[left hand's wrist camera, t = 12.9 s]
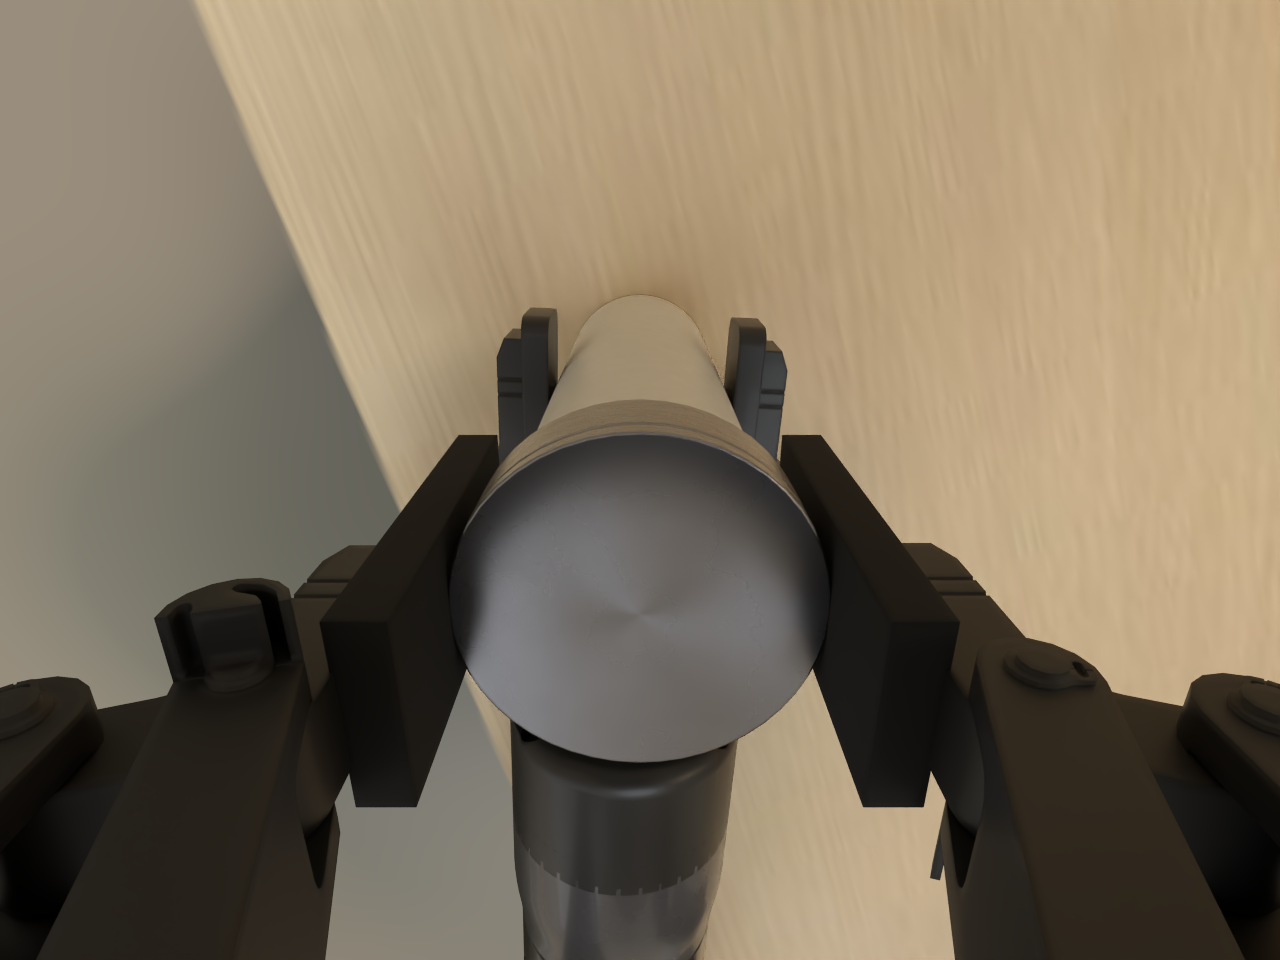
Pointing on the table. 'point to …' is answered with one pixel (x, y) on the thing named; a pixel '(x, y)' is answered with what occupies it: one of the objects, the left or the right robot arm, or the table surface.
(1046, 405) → the table surface
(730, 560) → the lid
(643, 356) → the jar
